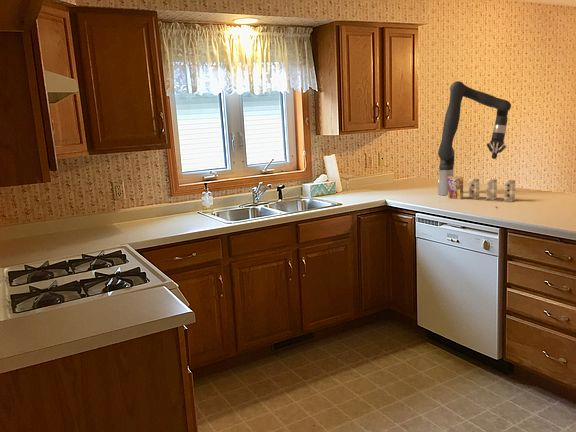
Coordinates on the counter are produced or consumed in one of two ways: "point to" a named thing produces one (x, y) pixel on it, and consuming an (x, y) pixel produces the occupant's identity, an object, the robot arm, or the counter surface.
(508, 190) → the dotted block right
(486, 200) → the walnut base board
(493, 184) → the plain birch block
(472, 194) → the dotted block left
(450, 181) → the candy box
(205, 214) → the counter surface
